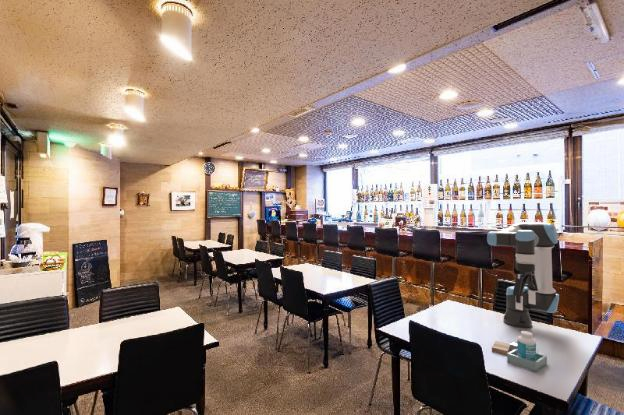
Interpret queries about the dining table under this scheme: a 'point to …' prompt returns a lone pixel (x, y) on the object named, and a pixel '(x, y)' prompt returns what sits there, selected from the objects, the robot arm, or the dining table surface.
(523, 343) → the pill bottle
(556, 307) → the robot arm
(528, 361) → the tray
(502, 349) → the flat wooden block
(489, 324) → the dining table surface
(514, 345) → the bench dog
